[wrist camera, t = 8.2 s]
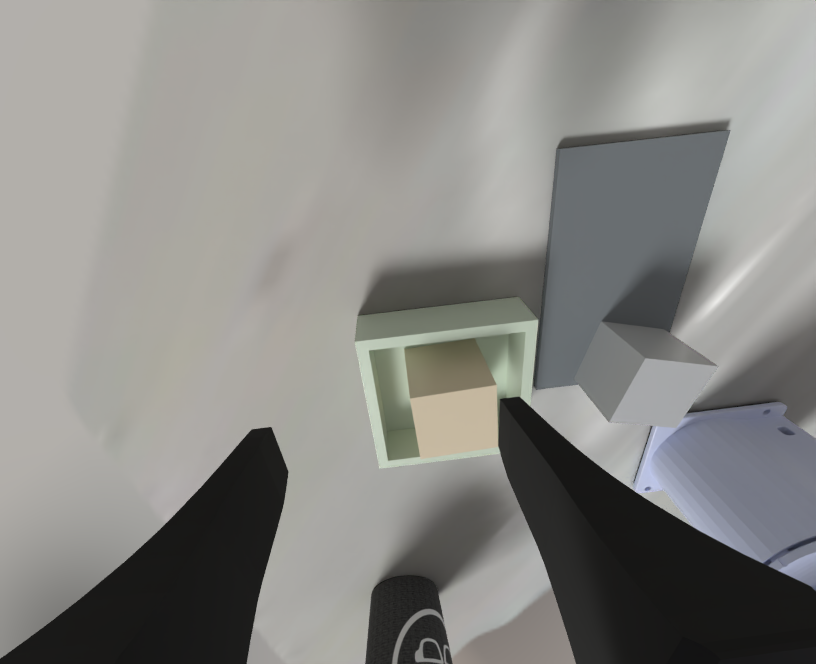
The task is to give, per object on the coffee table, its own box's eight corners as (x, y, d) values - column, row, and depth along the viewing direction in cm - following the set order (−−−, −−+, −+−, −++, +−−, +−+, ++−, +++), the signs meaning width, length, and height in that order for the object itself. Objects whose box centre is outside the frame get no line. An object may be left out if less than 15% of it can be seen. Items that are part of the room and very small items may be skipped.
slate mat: (723, 130, 17) (730, 130, 17) (652, 371, 24) (656, 374, 23) (556, 148, 17) (560, 149, 16) (533, 385, 24) (536, 389, 23)
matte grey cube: (664, 329, 22) (718, 366, 18) (632, 384, 24) (676, 427, 20) (601, 321, 21) (645, 358, 18) (574, 378, 23) (608, 422, 20)
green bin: (518, 296, 20) (538, 319, 18) (511, 418, 25) (526, 450, 22) (357, 315, 20) (354, 341, 18) (379, 434, 25) (379, 468, 22)
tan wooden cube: (474, 338, 21) (496, 384, 17) (477, 393, 23) (498, 446, 19) (404, 349, 21) (409, 398, 17) (413, 403, 23) (420, 459, 19)
